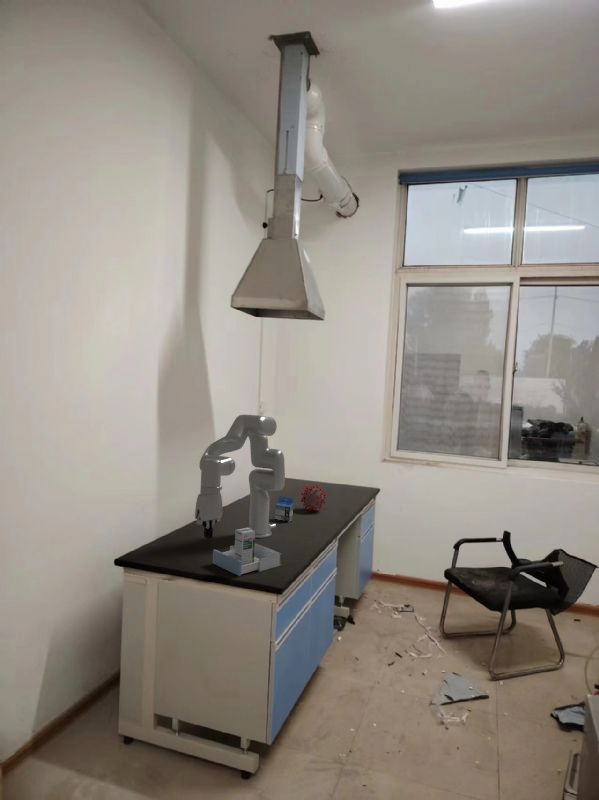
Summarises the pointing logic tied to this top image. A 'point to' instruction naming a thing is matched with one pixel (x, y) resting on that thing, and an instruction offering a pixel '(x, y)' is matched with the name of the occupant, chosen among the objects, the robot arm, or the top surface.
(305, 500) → the virus model
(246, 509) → the top surface
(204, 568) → the top surface
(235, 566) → the tray
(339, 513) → the top surface
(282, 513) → the label tape cartridge
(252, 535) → the syrup box
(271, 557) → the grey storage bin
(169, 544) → the top surface
